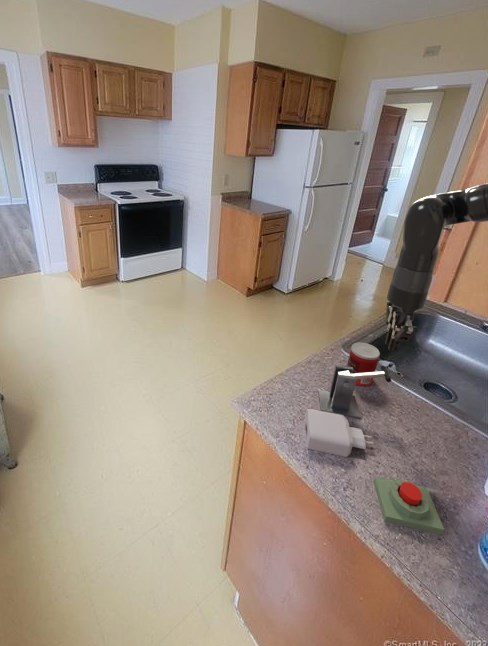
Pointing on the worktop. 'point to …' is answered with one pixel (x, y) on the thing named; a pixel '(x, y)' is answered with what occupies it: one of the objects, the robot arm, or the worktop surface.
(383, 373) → the tap lever
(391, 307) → the robot arm
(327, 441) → the charger
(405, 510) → the button box
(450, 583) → the worktop surface
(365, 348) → the canned food
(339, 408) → the tap bracket
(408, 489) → the button
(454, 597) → the worktop surface
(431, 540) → the worktop surface
